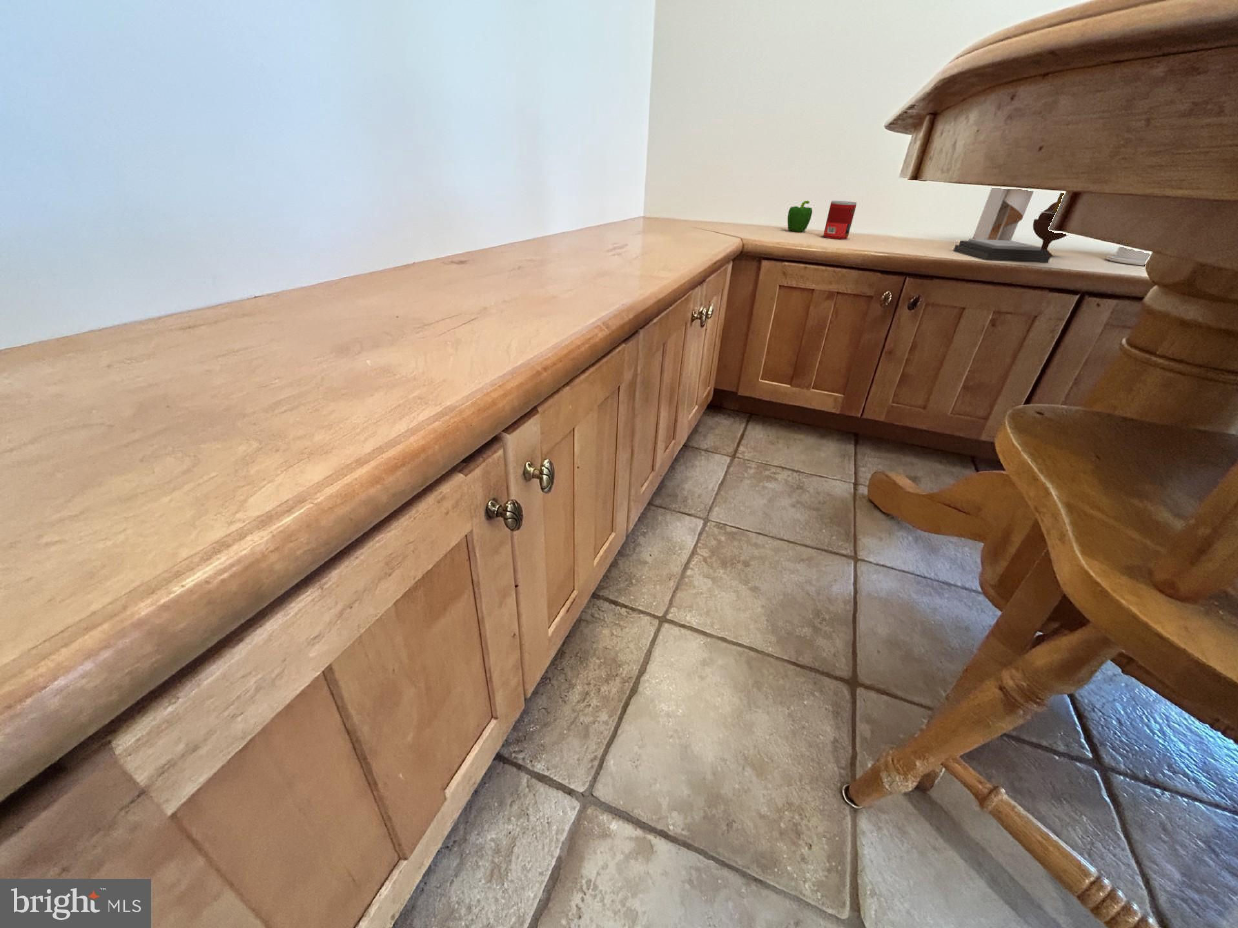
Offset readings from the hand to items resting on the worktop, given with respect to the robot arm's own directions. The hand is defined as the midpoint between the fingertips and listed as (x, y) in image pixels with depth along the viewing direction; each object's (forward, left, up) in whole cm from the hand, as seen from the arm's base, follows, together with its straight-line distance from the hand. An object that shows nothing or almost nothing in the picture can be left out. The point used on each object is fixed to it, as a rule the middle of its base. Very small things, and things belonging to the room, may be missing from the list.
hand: (1079, 181), depth 123 cm
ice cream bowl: (-18, -23, -20) cm, 36 cm away
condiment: (0, -1, -8) cm, 8 cm away
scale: (0, -16, -20) cm, 26 cm away
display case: (-12, -36, -20) cm, 43 cm away
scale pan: (0, -16, -18) cm, 24 cm away
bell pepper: (+48, -57, -20) cm, 78 cm away
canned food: (+39, -43, -20) cm, 62 cm away
